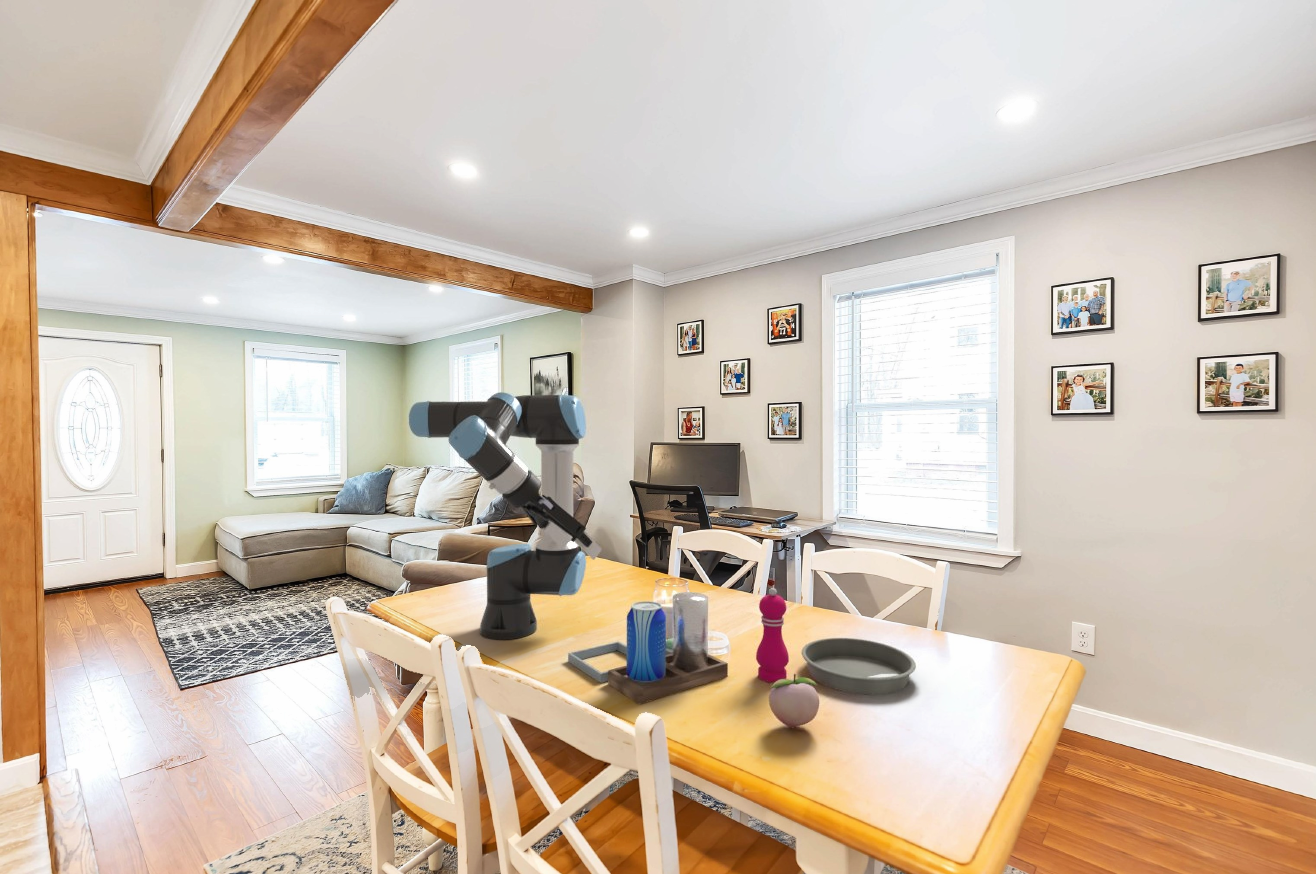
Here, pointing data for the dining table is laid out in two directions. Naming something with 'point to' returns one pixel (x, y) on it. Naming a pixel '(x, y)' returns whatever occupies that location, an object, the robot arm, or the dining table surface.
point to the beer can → (646, 643)
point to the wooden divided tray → (667, 680)
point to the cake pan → (858, 665)
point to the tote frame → (590, 652)
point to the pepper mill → (772, 639)
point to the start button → (669, 643)
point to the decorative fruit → (794, 701)
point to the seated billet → (690, 631)
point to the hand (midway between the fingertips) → (581, 549)
